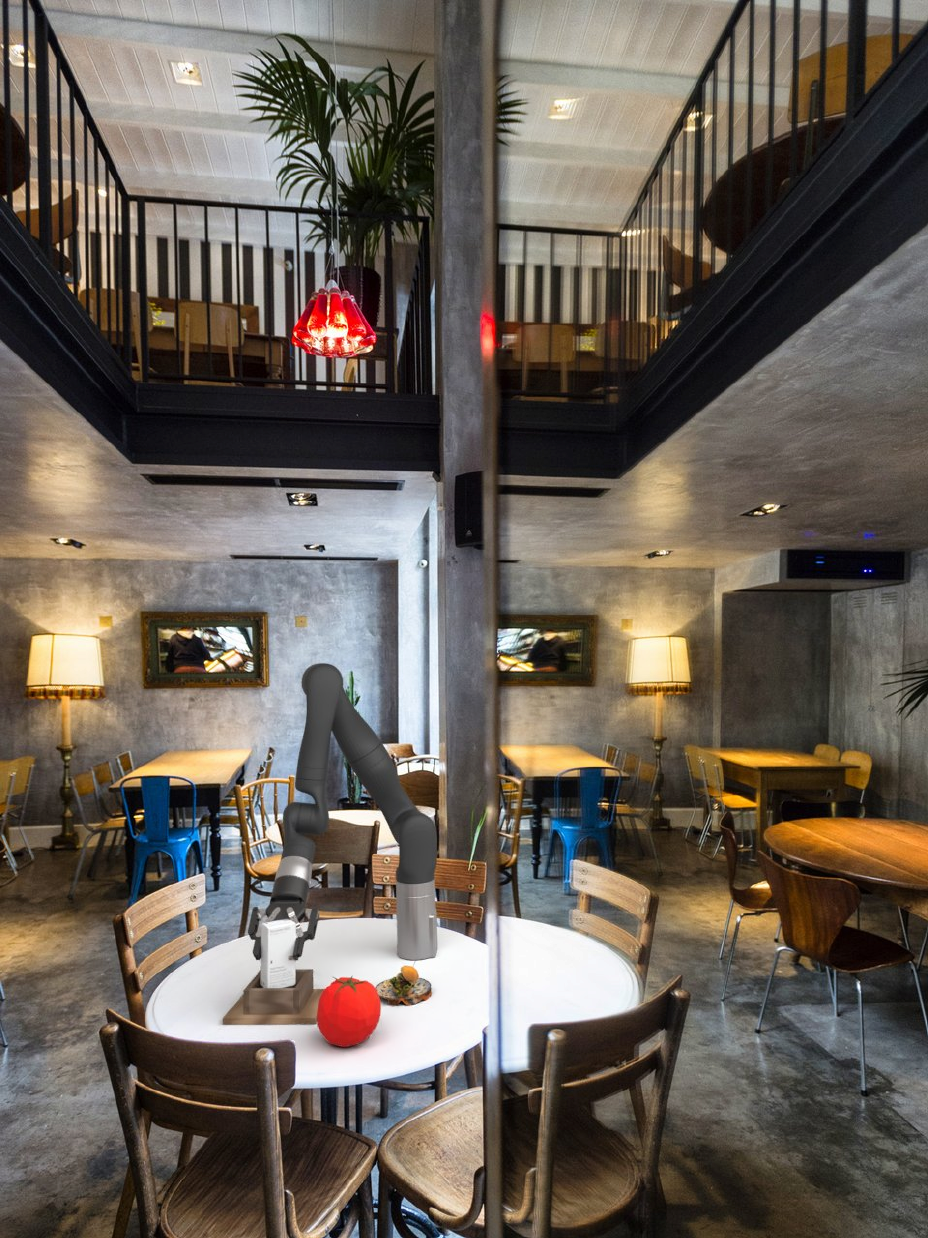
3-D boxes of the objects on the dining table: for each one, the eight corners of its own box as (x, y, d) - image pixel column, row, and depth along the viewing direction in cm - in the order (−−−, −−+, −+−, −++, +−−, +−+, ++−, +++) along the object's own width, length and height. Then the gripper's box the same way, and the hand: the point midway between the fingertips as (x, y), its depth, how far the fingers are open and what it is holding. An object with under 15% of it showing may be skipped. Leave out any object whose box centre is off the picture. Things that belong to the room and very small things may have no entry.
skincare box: (267, 992, 153) (267, 929, 154) (259, 985, 156) (259, 923, 157) (297, 985, 156) (296, 923, 157) (289, 978, 160) (288, 917, 161)
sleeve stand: (332, 994, 162) (331, 966, 163) (315, 1024, 148) (315, 993, 149) (246, 995, 163) (246, 967, 164) (222, 1024, 149) (222, 994, 150)
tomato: (313, 1032, 145) (312, 971, 146) (374, 1023, 148) (373, 962, 149) (322, 1062, 134) (321, 994, 134) (387, 1050, 137) (386, 985, 138)
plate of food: (395, 981, 170) (394, 945, 170) (442, 990, 164) (441, 953, 165) (363, 1002, 159) (362, 964, 160) (412, 1012, 153) (411, 973, 154)
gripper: (255, 874, 166) (236, 949, 153) (322, 873, 165) (308, 949, 152) (263, 892, 171) (245, 967, 158) (328, 892, 170) (315, 967, 157)
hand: (276, 958), depth 155 cm, fingers closed on skincare box, 7 cm apart
